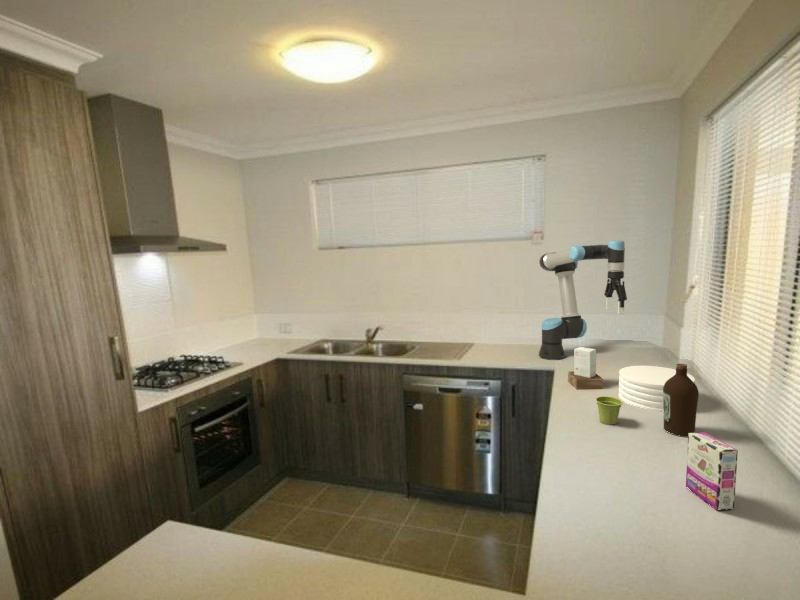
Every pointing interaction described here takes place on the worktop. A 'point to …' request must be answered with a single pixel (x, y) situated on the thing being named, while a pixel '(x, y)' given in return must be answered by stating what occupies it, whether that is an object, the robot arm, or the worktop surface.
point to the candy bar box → (711, 470)
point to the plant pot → (608, 409)
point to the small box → (585, 362)
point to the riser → (585, 381)
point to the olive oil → (680, 403)
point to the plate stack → (644, 385)
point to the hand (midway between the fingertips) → (614, 311)
